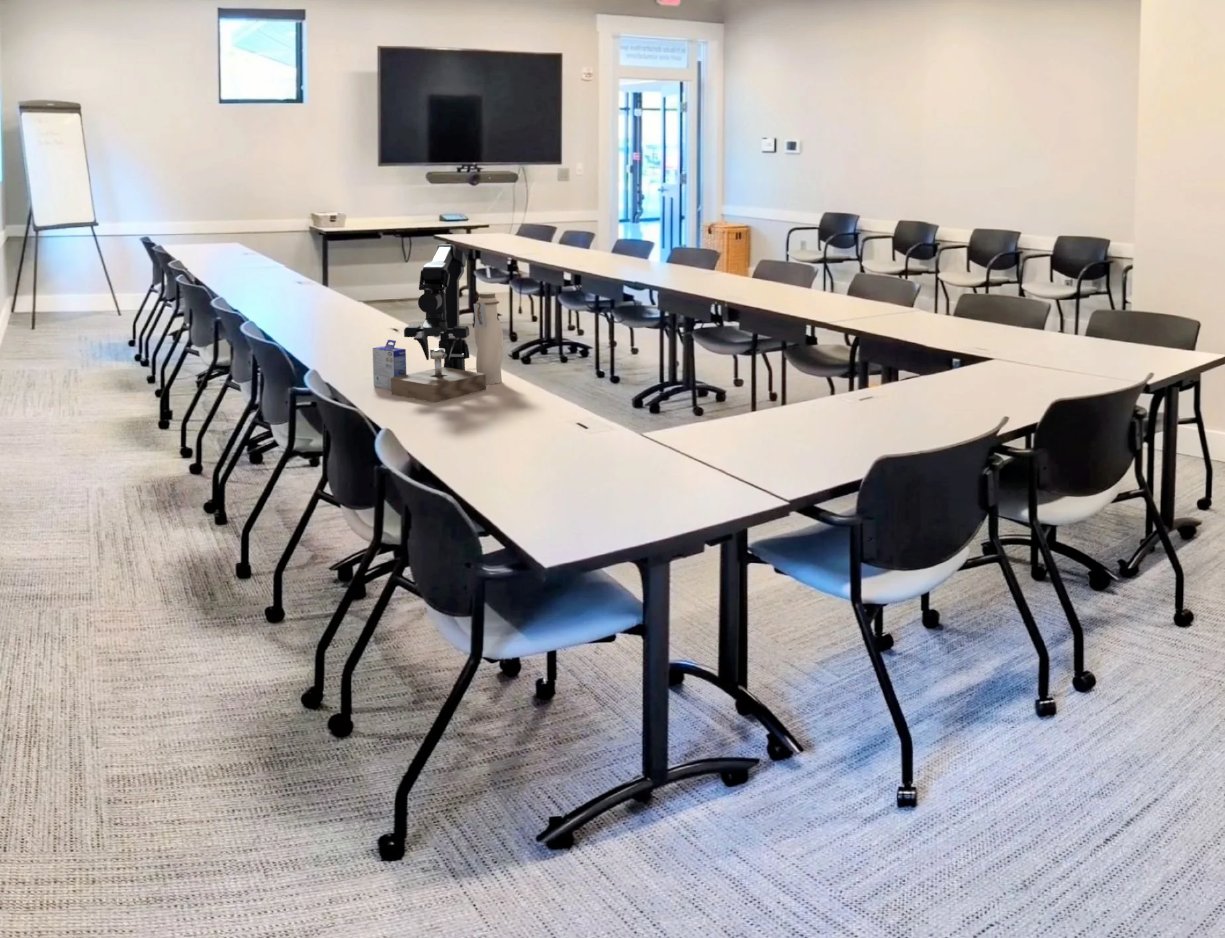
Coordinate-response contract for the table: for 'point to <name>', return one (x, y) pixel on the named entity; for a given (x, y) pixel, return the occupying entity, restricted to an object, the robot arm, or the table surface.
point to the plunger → (437, 360)
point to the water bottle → (488, 337)
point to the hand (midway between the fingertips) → (437, 360)
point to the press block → (438, 384)
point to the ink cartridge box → (388, 364)
